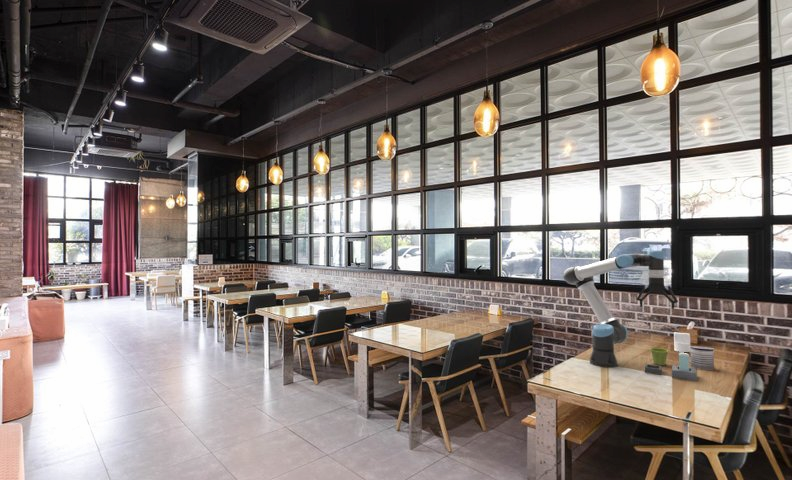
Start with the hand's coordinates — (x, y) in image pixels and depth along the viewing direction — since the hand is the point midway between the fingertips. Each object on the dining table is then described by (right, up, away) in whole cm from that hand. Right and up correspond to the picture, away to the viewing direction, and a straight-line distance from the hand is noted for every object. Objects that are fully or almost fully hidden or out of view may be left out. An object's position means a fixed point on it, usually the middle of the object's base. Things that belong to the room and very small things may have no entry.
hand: (656, 313), depth 235 cm
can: (+30, -33, +4) cm, 44 cm away
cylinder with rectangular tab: (+44, -33, +41) cm, 68 cm away
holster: (-5, -33, -4) cm, 33 cm away
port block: (+7, -32, -13) cm, 36 cm away
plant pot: (+8, -33, +11) cm, 36 cm away
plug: (+7, -33, -13) cm, 36 cm away
